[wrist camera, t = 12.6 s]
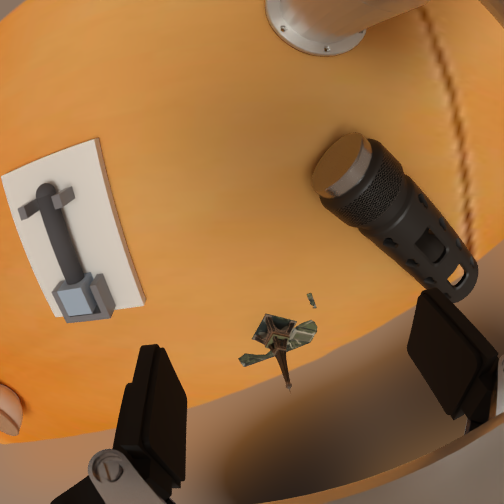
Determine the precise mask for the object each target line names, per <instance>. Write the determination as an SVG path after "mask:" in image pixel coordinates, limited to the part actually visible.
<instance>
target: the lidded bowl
mask: <svg viewBox="0 0 504 504" xmlns="http://www.w3.org/2000/svg"><path fill="white" fill-rule="evenodd" d="M22 419H23V410H22V406H21V403H20V399H19V397H18V396H17V395H16V393H15V392H13V391H12V390H11V389H10V388H8V387H7V386H5V385H2V384H0V431H2V432H4V433H6V434H9V435H12V436H16V435H18V434H19V429H20V427H21V424H22Z"/></svg>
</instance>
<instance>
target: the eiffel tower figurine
mask: <svg viewBox="0 0 504 504" xmlns="http://www.w3.org/2000/svg"><path fill="white" fill-rule="evenodd" d="M307 296H308V299H309V301H310V304H311V305H312V306H314V307H313V308H316V305H315V302H314V300H313V297H312V294H311V293H309V294H307ZM296 323H297V321H294V320H290V319H285V318H281V317H277V316H273V315H269V314H265V316H264V318H263V320H262V321H261V323H260V325H259V327H258V329H257V331H256V332H255V334H254V336H253V338H252V339H253V340H256V341H258V342H260V343H262V344H264V345H265V348H269V349H270V352H268V353H267V354H266V355H254V354H246V353H245V354H244V355H243V356H242V357H240V358H238V359H239V361H240V362H241V364H242V365H243V366H244V367H246V366H249V365H252V364H254V363H257V362H260V361H263V360H265V359H268V358H271V357H274V356H275V357H276V358H277V361H278V363H279V365H280V368H281V371H282V373H283V376H284V379H285V382H286V388H288V389H290V388H291V386H292V385H291V383H290V379H289V373H288V367H287V361H286V352H288V351H290V350H293V349H295V348H298V347H301V346H303V345H305V344H308V343H310V342H311V341H312V339H313V337H314V335H315V334H316V332H317V326H316V324H315V322H314V321H312V320H309V321H307V322H304V323H301V324H300V325H298V326H297V327H295V328H294V326H295V324H296Z"/></svg>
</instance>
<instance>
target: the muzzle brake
mask: <svg viewBox="0 0 504 504" xmlns="http://www.w3.org/2000/svg"><path fill="white" fill-rule="evenodd" d="M311 185H312V188H313V189H314V191H315V192H317V193H318V194H319V196H320V199H321V202H322V204H323V206H324V207H325V208H326V209H328V210H329V211H330V212H331V213H333V214H334V215H335V216H337V217H338V218H339V219H341V220H342V221H343V222H344V223H346V224H347V225H349V226H352V227H357V228H358V229H359V231H360V232H361V233H362V234H363V235H364V236H366V237H367V238H369V239H370V240H371V241H372V242H373V243H375V244H376V245H377V246H378V247H379V248H380V249H381V250H382V251H384V252H385V253H386V254H387V255H388V256H390V257H391V258H392V259H394V260H395V261H396V262H397V263H398V264H399V265H400V266H401V267H402V268H403V269H404V270H406V271H407V272H408V273H409V274H410V275H412V276H413V277H414V278H415V279H416V280H417V281H418V282H419V283H420V284H421V285H422V286H423V287H424V288H426V289H430V288H434V287H436V288H438V289H439V290H440V291H441V292H442V293H443V294H444V295H445V296H446V297H447V298H448V299H449V300H450V301H451V302H452V303H456V302H459V301H460V300H462V299H464V298H465V297H466V296H467V295H468V294H469V293H470V292H471V291H472V289H473V288H474V286H475V284H476V281H477V277H478V265H477V262H476V260H475V259H474V257H473V256H472V254H471V253H470V251H469V250H468V249H467V247H466V246H465V244H464V243H463V242H462V240H461V239H460V238H459V236H458V235H457V234H456V232H455V231H454V230H453V228H452V227H451V226H450V224H449V223H448V222H447V221H446V219H445V218H444V217H443V216H442V214H441V213H440V212H439V211H438V209H437V208H436V207H435V206H434V205H433V203H432V202H431V201H430V200H429V199H428V197H427V196H426V195H425V194H424V193H423V192H422V190H421V189H420V188H419V187H418V186H417V185H416V184H415V183H414V181H413V180H412V179H411V178H410V177H409V176H407V175H405V174H404V172H403V169H402V166H401V164H400V163H399V162H398V161H397V160H396V159H395V158H394V156H393V155H392V154H391V153H390V152H389V151H388V150H387V149H386V148H385V147H384V146H383V145H382V144H381V143H380V142H378V141H376V140H374V139H366V138H365V137H364V136H363V135H362V134H360V133H357V132H353V133H349V134H347V135H345V136H343V137H342V138H340V139H339V140H338V141H336V142H335V143H334V144H333V145H332V146H331V147H330V148H329V149H328V150H327V151H326V152H325V153H324V155H323V156H322V158H321V159H320V161H319V162H318V164H317V166H316V168H315V170H314V173H313V176H312V180H311ZM429 229H430V230H429ZM458 264H460V265H461V267H462V268H463V269H464V275H463V277H462V279H461V280H460V281H459V282H458V283H457V284H456V285H454V286H452V285H451V283H450V282H449V281H448V280H447V279H448V277H449V276H450V275H451V274H452V273H453V272H454V271H455V269H456V268H457V266H458Z"/></svg>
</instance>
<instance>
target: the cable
mask: <svg viewBox="0 0 504 504" xmlns="http://www.w3.org/2000/svg"><path fill="white" fill-rule="evenodd" d="M55 194H56V190H55V188H54V186H53V185H51V184H49V183H44V184H41V185H40V186H39V187H38V189H37V191H36V200H37V203H38V207H39V210H40V213H41V216H42V219H43V222H44V225H45V228H46V231H47V234H48V237H49V240H50V243H51V245H52V248H53V251H54V253H55V256H56V258H57V261H58V263H59V266H60V268H61V271H62V273H63V276H64V278H65V281H64V282H63V284H62V285H61V286H60V288H59V289H58V291H57V293H58V295H59V297H60V299H61V301H62V303H63V305H64V307H65V309H66V311H67V313H68V315H69V316H75V315H83V314H92V313H93V311H94V309H95V307H96V305H97V302H96V300H95V298H94V295H93V293H92V291H91V289H90V284H91V283H92V281H93V276H92V274H91V272H88V273H83V270H82V268H81V265H80V263H79V260H78V258H77V255H76V252H75V249H74V247H73V244H72V241H71V238H70V235H69V232H68V229H67V226H66V223H65V220H64V217H63V214H62V210H61V208H59V209H55V208H54V205H53V201H52V198H51V196H53V195H55Z"/></svg>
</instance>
